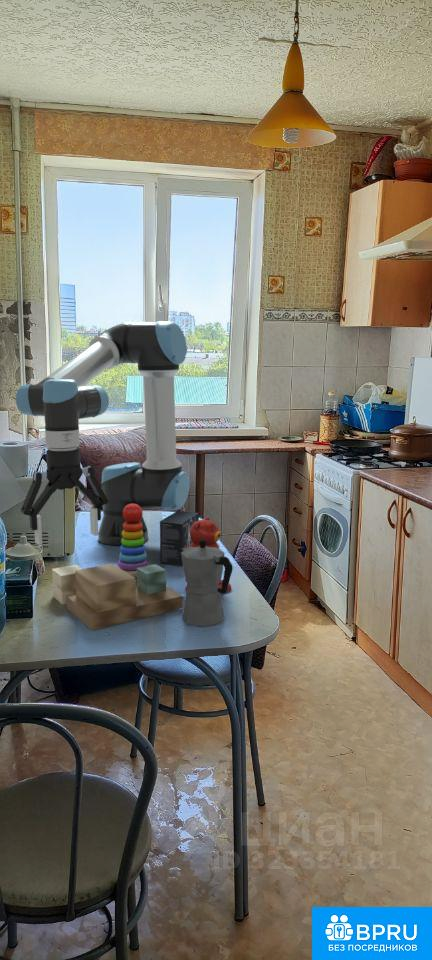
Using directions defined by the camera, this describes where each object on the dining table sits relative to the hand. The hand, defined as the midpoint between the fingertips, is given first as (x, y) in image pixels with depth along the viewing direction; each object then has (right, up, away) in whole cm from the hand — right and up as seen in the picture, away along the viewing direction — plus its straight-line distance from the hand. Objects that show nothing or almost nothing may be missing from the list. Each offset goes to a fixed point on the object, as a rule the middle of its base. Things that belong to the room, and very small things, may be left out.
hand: (67, 538), depth 161 cm
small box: (+25, -8, +33) cm, 42 cm away
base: (+14, -15, -3) cm, 21 cm away
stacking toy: (+13, -11, +19) cm, 26 cm away
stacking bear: (+32, -13, +7) cm, 35 cm away
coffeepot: (+33, -17, -10) cm, 38 cm away
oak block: (0, -14, +3) cm, 15 cm away
